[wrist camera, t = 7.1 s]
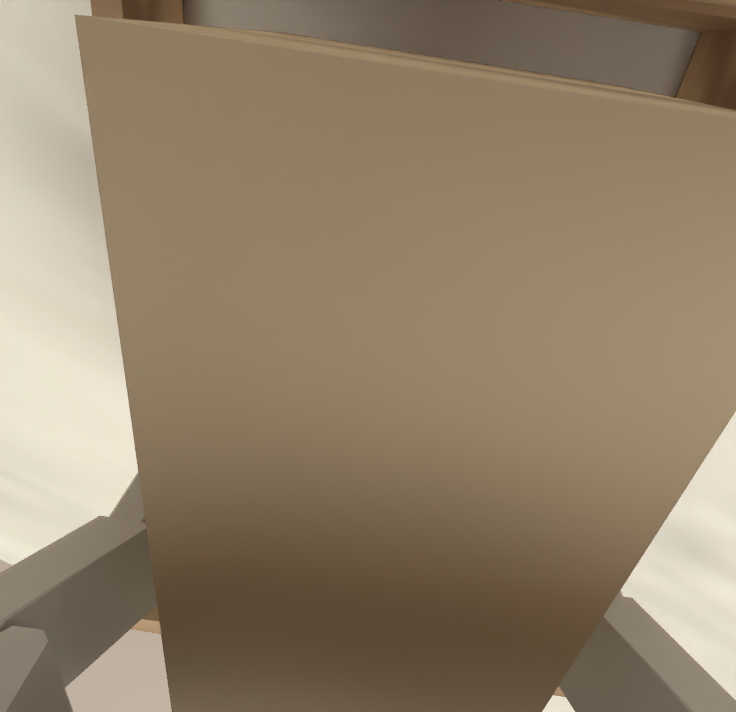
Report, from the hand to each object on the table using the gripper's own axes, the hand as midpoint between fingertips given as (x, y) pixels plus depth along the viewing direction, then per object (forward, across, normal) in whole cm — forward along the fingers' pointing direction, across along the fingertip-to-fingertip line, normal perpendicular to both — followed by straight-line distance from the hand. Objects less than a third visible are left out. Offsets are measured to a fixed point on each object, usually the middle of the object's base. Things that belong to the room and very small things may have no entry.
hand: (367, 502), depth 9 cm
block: (+2, 0, -1) cm, 2 cm away
